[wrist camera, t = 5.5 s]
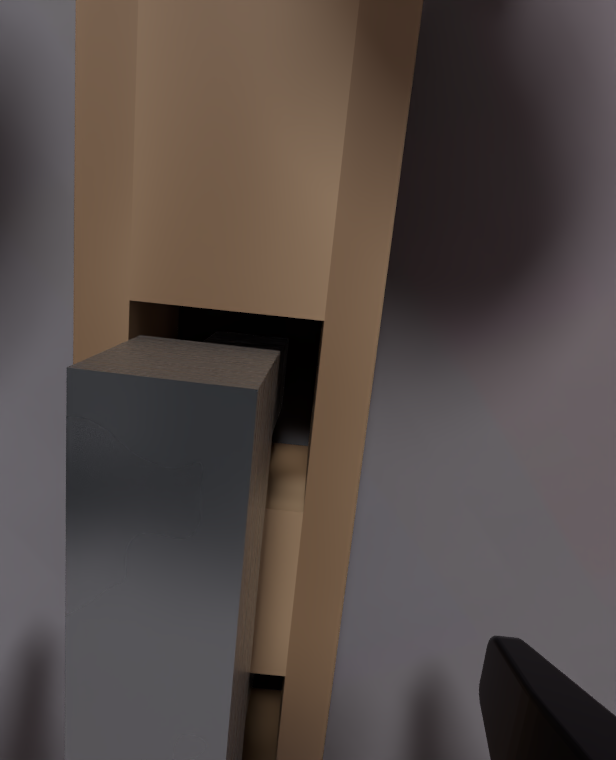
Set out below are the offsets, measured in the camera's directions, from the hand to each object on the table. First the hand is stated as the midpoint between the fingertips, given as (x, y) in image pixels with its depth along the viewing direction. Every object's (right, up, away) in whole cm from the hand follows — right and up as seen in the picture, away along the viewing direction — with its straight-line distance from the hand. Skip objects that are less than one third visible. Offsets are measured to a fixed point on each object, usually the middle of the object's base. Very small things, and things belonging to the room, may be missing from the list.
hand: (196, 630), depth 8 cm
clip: (0, +1, +4) cm, 4 cm away
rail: (0, +1, +4) cm, 4 cm away
